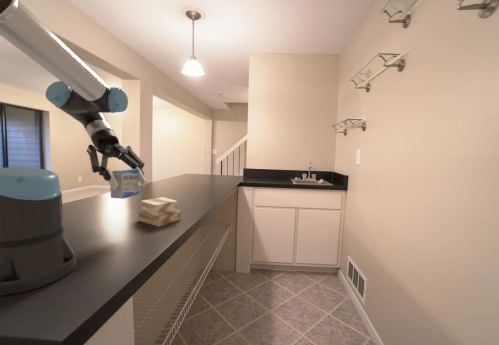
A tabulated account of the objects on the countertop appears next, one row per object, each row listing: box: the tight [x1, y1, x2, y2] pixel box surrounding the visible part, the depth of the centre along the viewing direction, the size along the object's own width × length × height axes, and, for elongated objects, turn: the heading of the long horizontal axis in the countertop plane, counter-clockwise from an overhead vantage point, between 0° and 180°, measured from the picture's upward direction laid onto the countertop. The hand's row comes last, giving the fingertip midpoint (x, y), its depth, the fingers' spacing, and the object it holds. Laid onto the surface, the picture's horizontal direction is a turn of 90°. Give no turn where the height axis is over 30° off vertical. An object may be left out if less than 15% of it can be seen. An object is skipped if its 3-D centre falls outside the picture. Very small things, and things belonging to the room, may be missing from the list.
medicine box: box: [109, 168, 140, 200], centre depth 76 cm, size 8×4×9 cm, turn 168°
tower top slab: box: [140, 196, 179, 216], centre depth 90 cm, size 9×11×4 cm
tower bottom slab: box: [138, 209, 181, 228], centre depth 90 cm, size 10×12×4 cm
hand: (130, 185), depth 74 cm, fingers closed on medicine box, 9 cm apart
